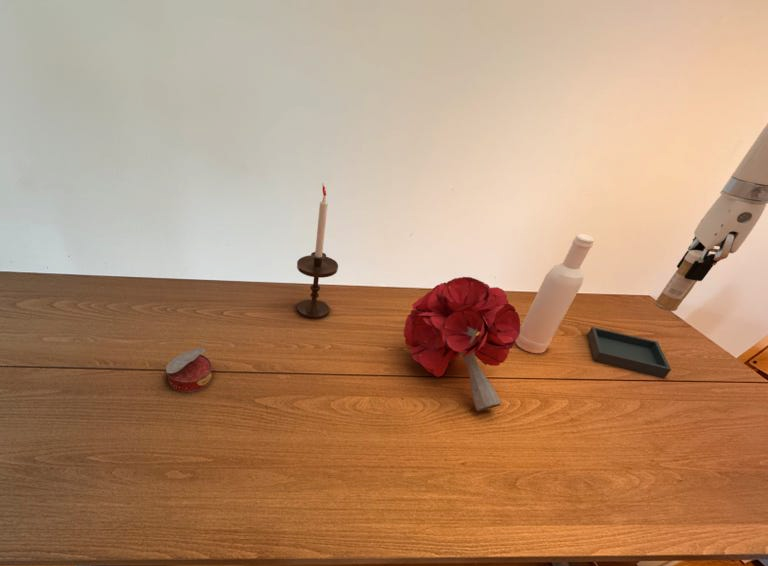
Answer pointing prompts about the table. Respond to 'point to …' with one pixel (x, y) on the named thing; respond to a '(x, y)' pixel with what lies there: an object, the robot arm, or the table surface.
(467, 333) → the bouquet
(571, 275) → the bottle
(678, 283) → the sprinkles bottle
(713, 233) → the robot arm
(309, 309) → the candlestick
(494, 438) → the table surface
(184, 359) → the canned food
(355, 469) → the table surface
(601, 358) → the serving tray
